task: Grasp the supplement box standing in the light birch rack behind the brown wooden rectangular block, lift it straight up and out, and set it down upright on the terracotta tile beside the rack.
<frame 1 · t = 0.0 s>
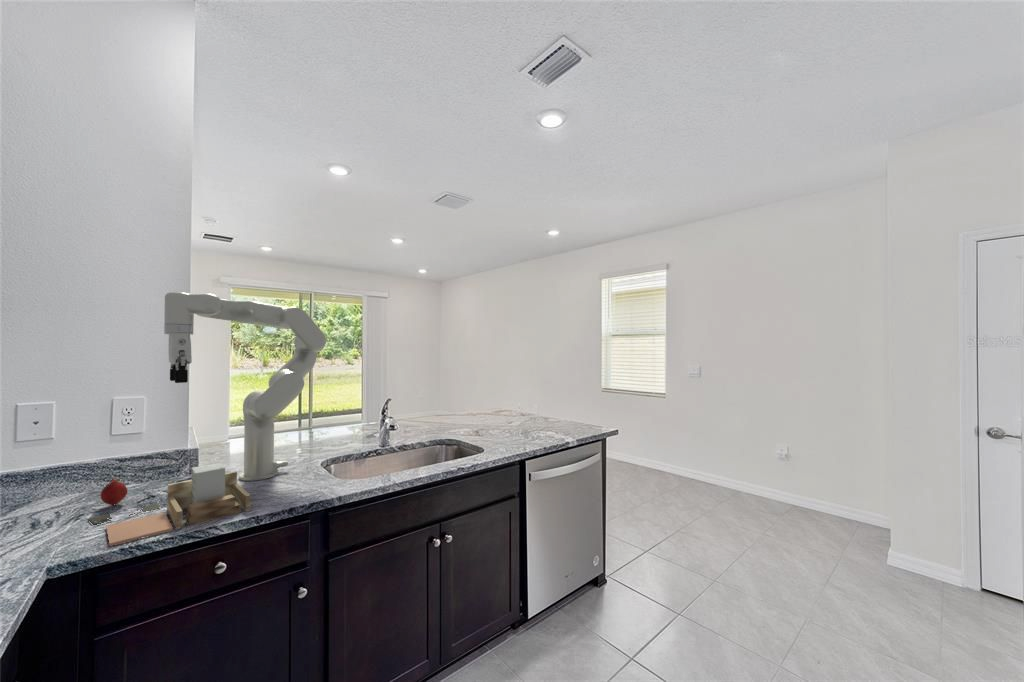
hand: (178, 381, 136), 37 cm above the worktop, tool pointing down, fingers open, 9 cm apart
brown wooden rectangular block: (214, 517, 118), on the worktop
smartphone: (126, 515, 119), on the worktop
onion: (114, 506, 125), on the worktop
supplement box: (208, 510, 123), resting in rack
terracotta tile: (139, 529, 109), on the worktop
rack: (208, 509, 123), on the worktop
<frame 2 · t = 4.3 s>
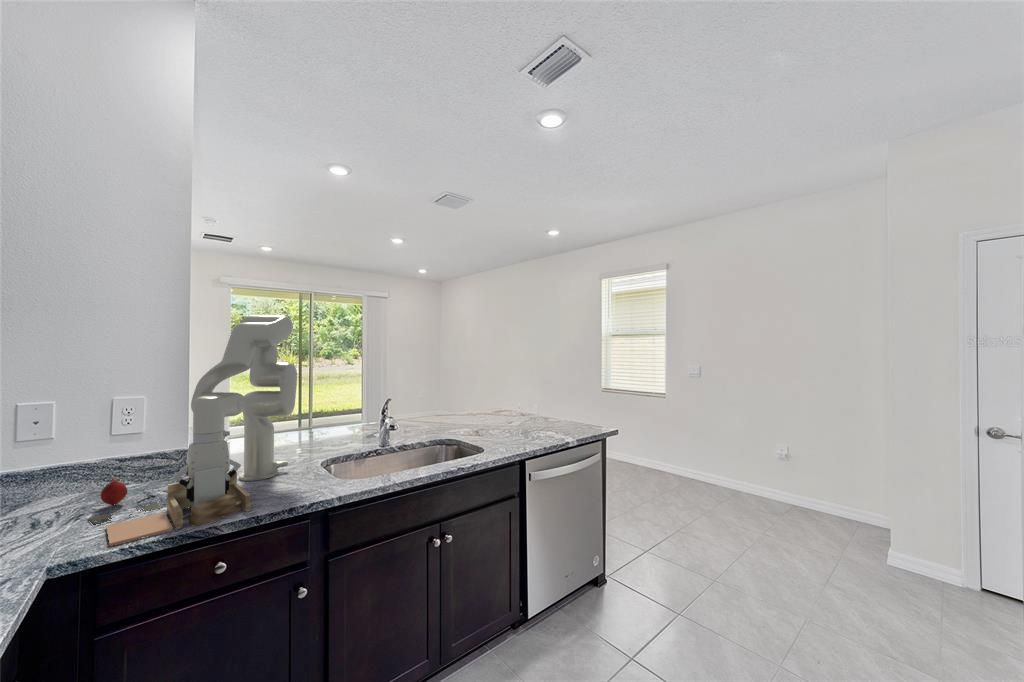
hand: (208, 496, 123), 4 cm above the worktop, tool pointing down, fingers closed on supplement box, 7 cm apart
supplement box: (208, 510, 123), resting in rack, touching gripper
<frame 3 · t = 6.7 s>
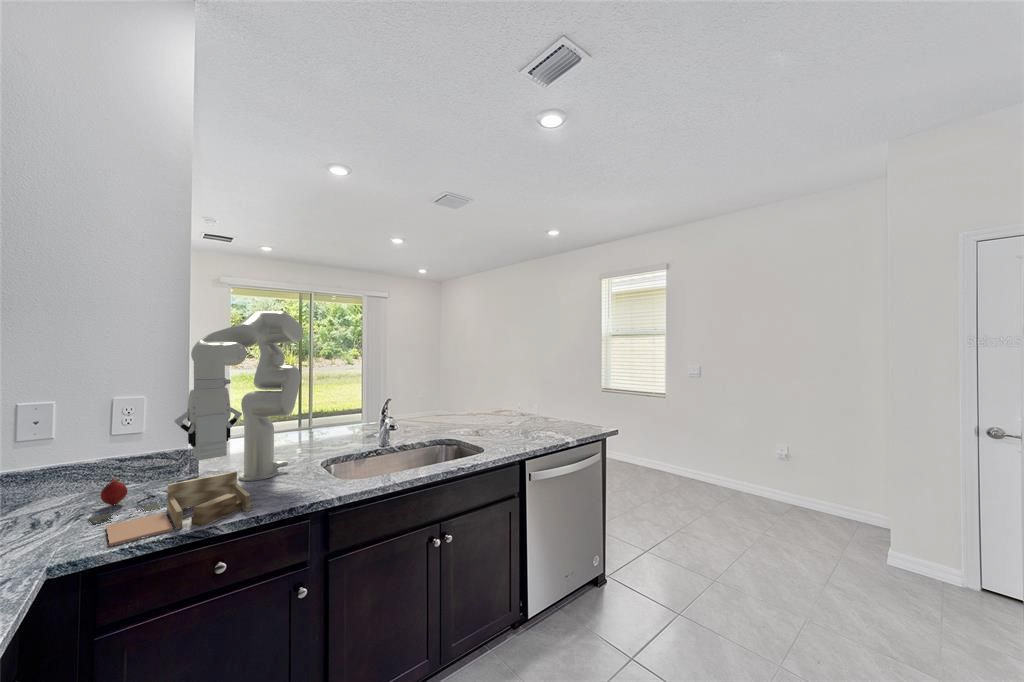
hand: (209, 442, 123), 20 cm above the worktop, tool pointing down, fingers closed on supplement box, 7 cm apart
supplement box: (209, 456, 123), point 16 cm above the worktop, touching gripper
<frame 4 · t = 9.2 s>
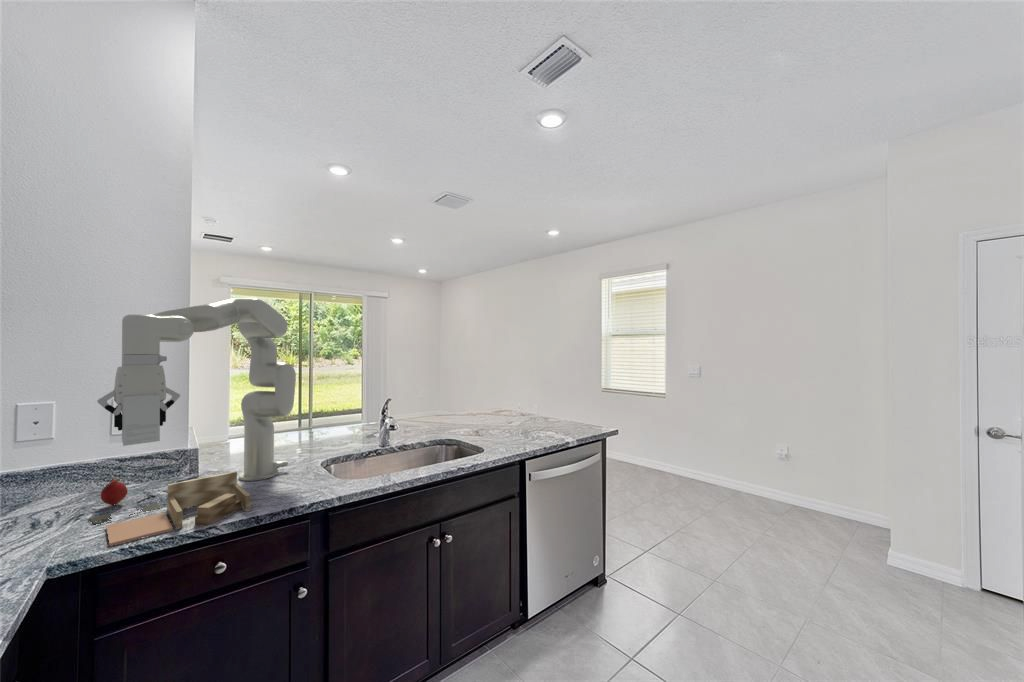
hand: (140, 426, 110), 27 cm above the worktop, tool pointing down, fingers closed on supplement box, 7 cm apart
supplement box: (140, 442, 110), point 23 cm above the worktop, touching gripper
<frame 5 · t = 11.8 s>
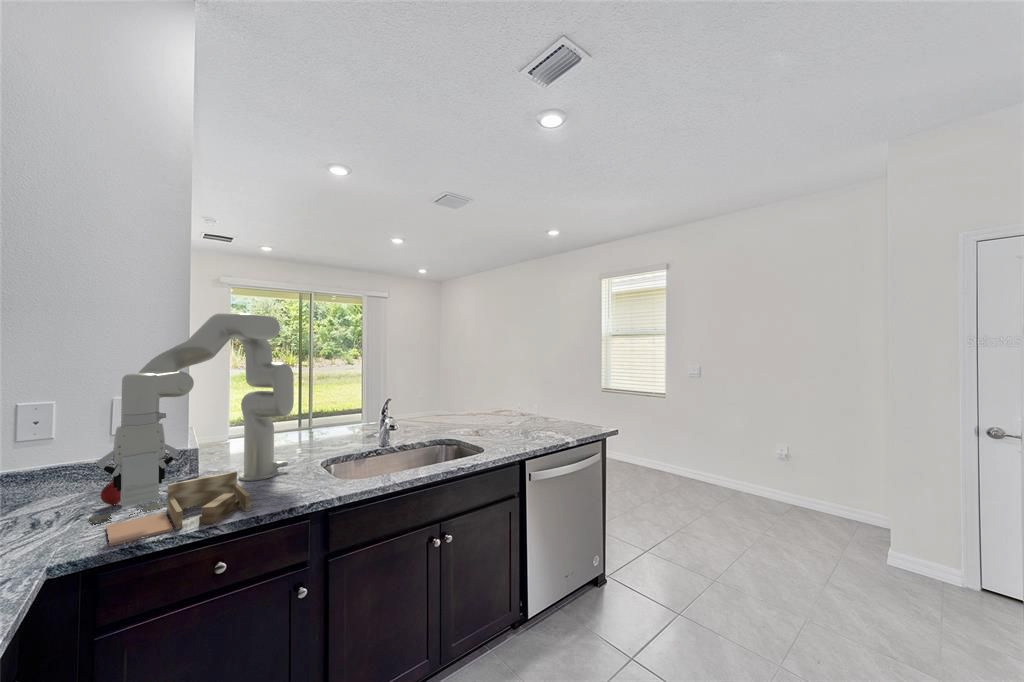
hand: (139, 485, 109), 12 cm above the worktop, tool pointing down, fingers closed on supplement box, 7 cm apart
supplement box: (139, 501, 109), point 8 cm above the worktop, touching gripper
when the fingers open (6 cm above the worktop, at t = 14.1 s): supplement box moves 1 cm, resting on terracotta tile.
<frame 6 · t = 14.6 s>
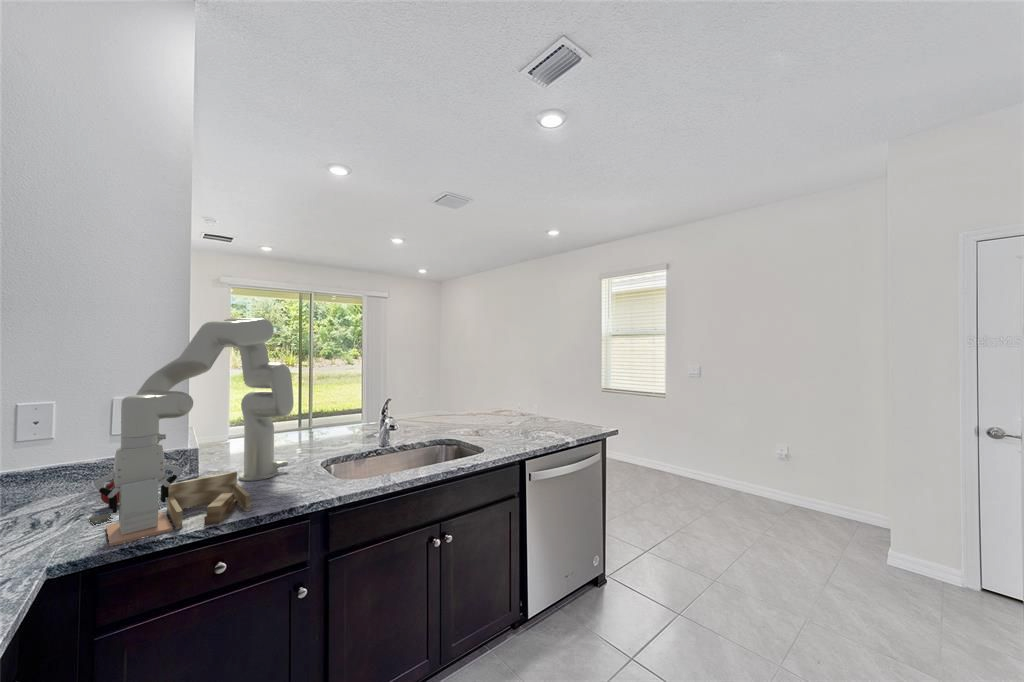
hand: (139, 505, 109), 6 cm above the worktop, tool pointing down, fingers open, 9 cm apart
supplement box: (138, 527, 109), point 1 cm above the worktop, touching terracotta tile
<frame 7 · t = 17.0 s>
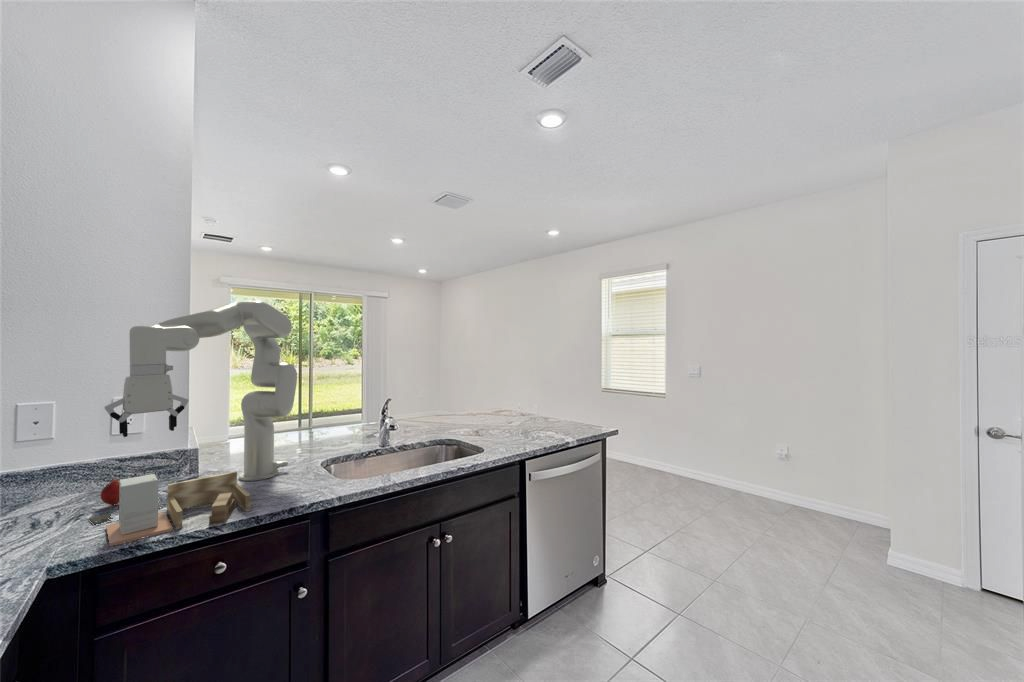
hand: (149, 432, 113), 25 cm above the worktop, tool pointing down, fingers open, 9 cm apart
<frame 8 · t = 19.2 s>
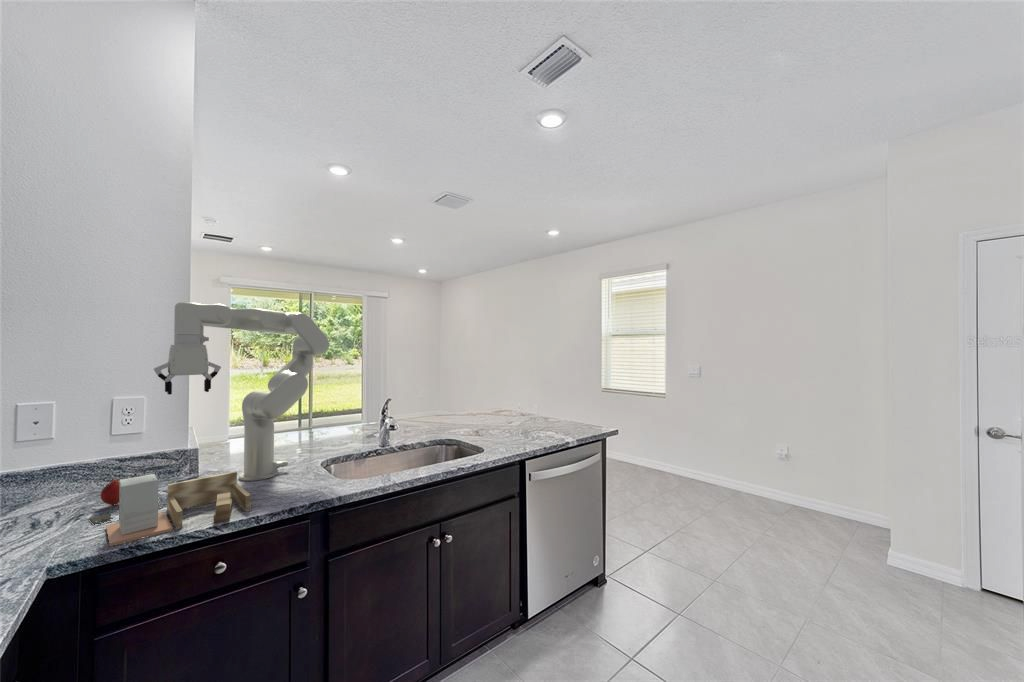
hand: (188, 392, 134), 33 cm above the worktop, tool pointing down, fingers open, 9 cm apart
at the end: supplement box 0.2 cm off-centre on the terracotta tile, point 0.6 cm above the terracotta tile's base; supplement box tilted 0°; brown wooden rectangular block moved 2.4 cm from its start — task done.
